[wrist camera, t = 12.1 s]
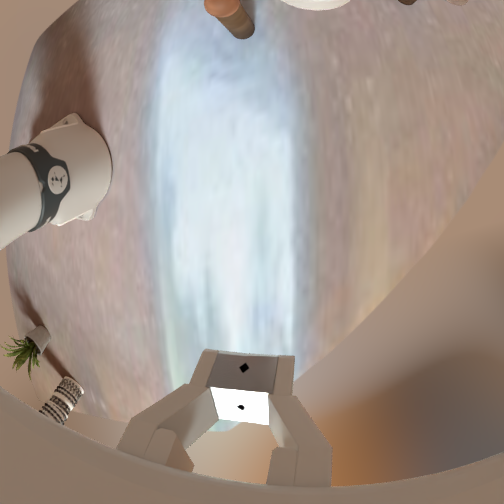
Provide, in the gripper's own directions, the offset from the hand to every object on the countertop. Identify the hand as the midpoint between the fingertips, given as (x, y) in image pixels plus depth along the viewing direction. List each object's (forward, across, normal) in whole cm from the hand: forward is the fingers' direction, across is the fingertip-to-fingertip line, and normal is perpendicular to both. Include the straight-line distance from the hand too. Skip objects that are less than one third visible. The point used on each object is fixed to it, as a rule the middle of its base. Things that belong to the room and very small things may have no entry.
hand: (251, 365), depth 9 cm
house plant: (+31, +68, +37) cm, 84 cm away
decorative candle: (+31, +69, +62) cm, 98 cm away
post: (+31, +5, -20) cm, 37 cm away
